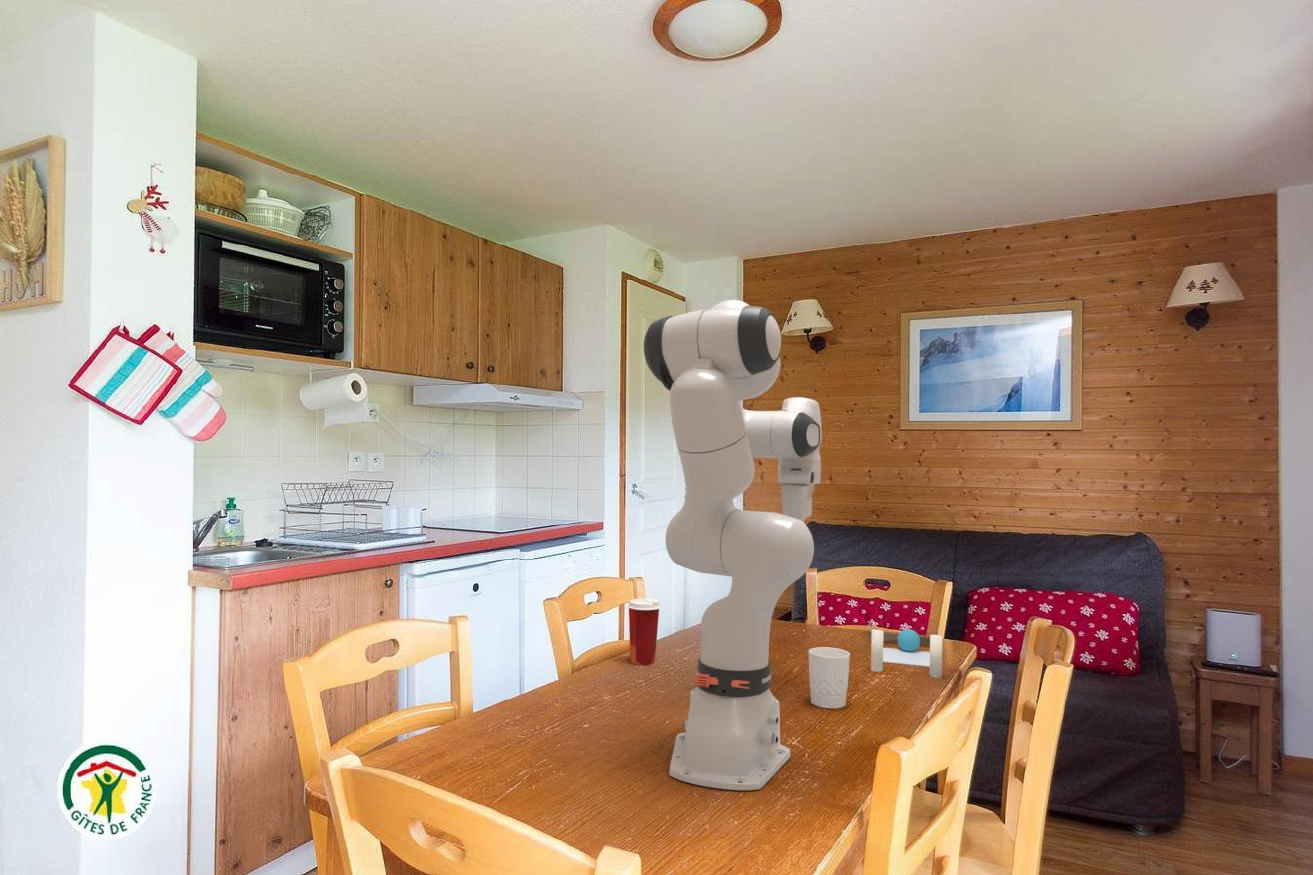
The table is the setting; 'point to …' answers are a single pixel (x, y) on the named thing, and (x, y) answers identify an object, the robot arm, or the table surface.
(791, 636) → the table surface
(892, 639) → the stopper wall
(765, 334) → the robot arm
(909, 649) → the ball
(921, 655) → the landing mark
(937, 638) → the post right
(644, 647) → the paper cup
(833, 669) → the white cup
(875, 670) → the post left
